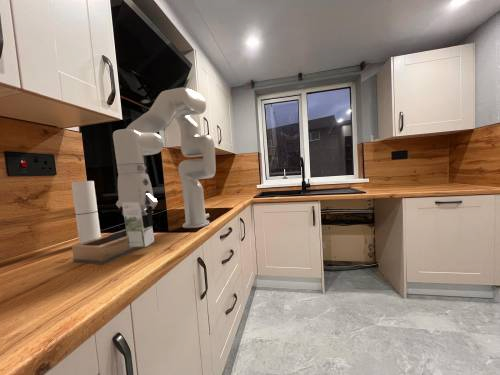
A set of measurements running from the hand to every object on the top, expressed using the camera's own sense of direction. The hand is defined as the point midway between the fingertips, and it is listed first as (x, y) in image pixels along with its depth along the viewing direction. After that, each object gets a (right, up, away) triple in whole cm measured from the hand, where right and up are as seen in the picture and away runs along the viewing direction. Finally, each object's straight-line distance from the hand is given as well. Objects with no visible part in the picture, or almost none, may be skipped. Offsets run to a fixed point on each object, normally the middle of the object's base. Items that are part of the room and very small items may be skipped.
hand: (139, 226), depth 71 cm
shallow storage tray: (-11, -10, +6) cm, 15 cm away
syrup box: (+1, -6, +1) cm, 6 cm away
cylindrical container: (-29, -10, +19) cm, 36 cm away
